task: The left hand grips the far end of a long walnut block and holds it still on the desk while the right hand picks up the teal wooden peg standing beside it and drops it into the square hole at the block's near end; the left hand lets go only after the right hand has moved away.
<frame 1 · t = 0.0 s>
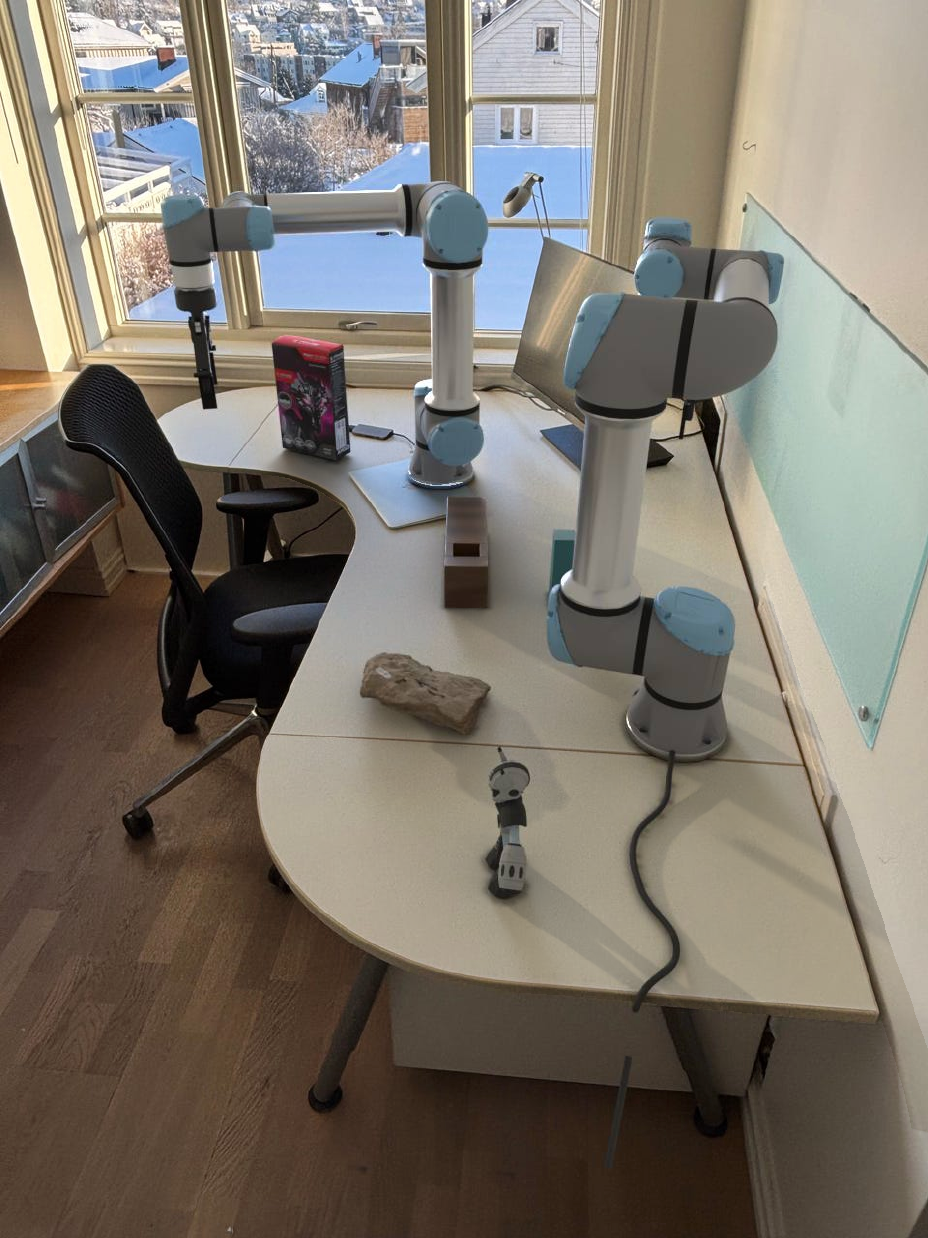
left hand: (210, 396, 184), 28 cm above the table, fingers open, 13 cm apart
right hand: (643, 432, 170), 28 cm above the table, fingers open, 13 cm apart
hole block: (466, 569, 183), on the table
stone: (420, 704, 148), on the table
graphics card box: (316, 451, 230), on the table
robot: (504, 874, 119), on the table
peg: (559, 600, 174), on the table
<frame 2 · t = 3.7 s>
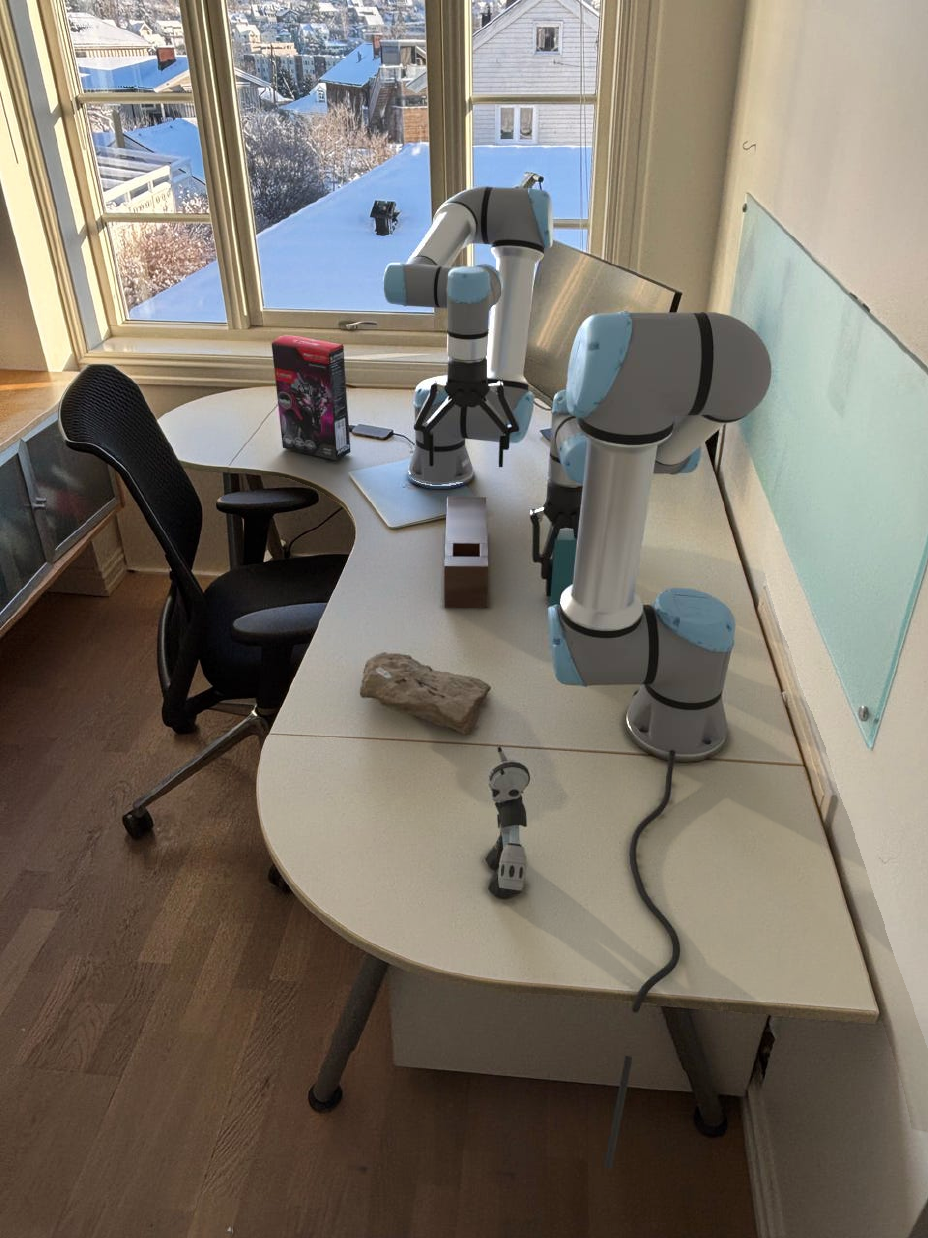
left hand: (466, 464, 182), 18 cm above the table, fingers open, 13 cm apart
right hand: (560, 592, 173), 2 cm above the table, fingers closed on peg, 4 cm apart
peg: (559, 600, 174), on the table, touching right hand
everything else where it was.
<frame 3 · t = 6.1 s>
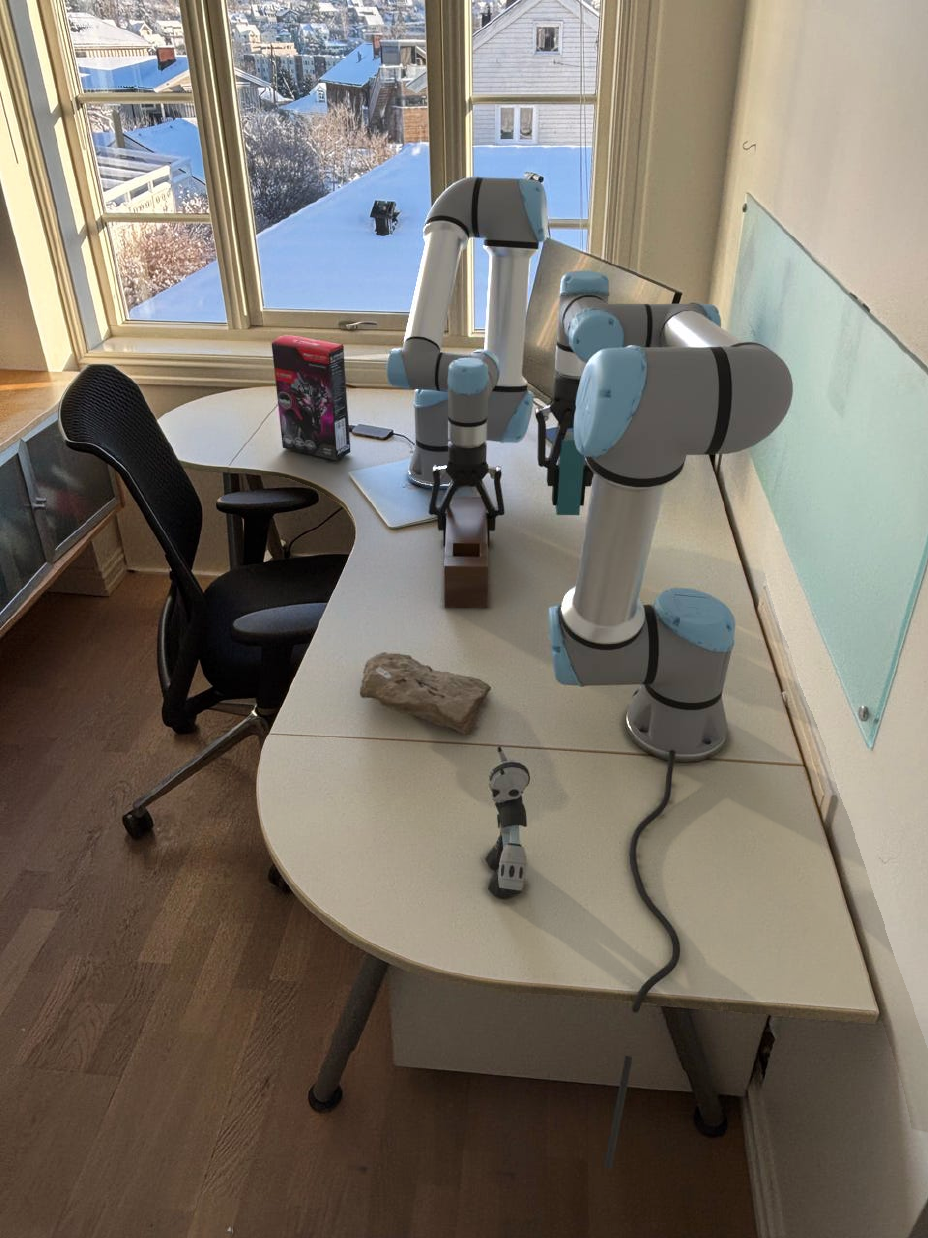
left hand: (466, 543, 191), 0 cm above the table, fingers closed on hole block, 8 cm apart
right hand: (567, 501, 163), 21 cm above the table, fingers closed on peg, 4 cm apart
hole block: (466, 569, 183), on the table, touching left hand
peg: (566, 510, 164), point 19 cm above the table, touching right hand
everything else where it was.
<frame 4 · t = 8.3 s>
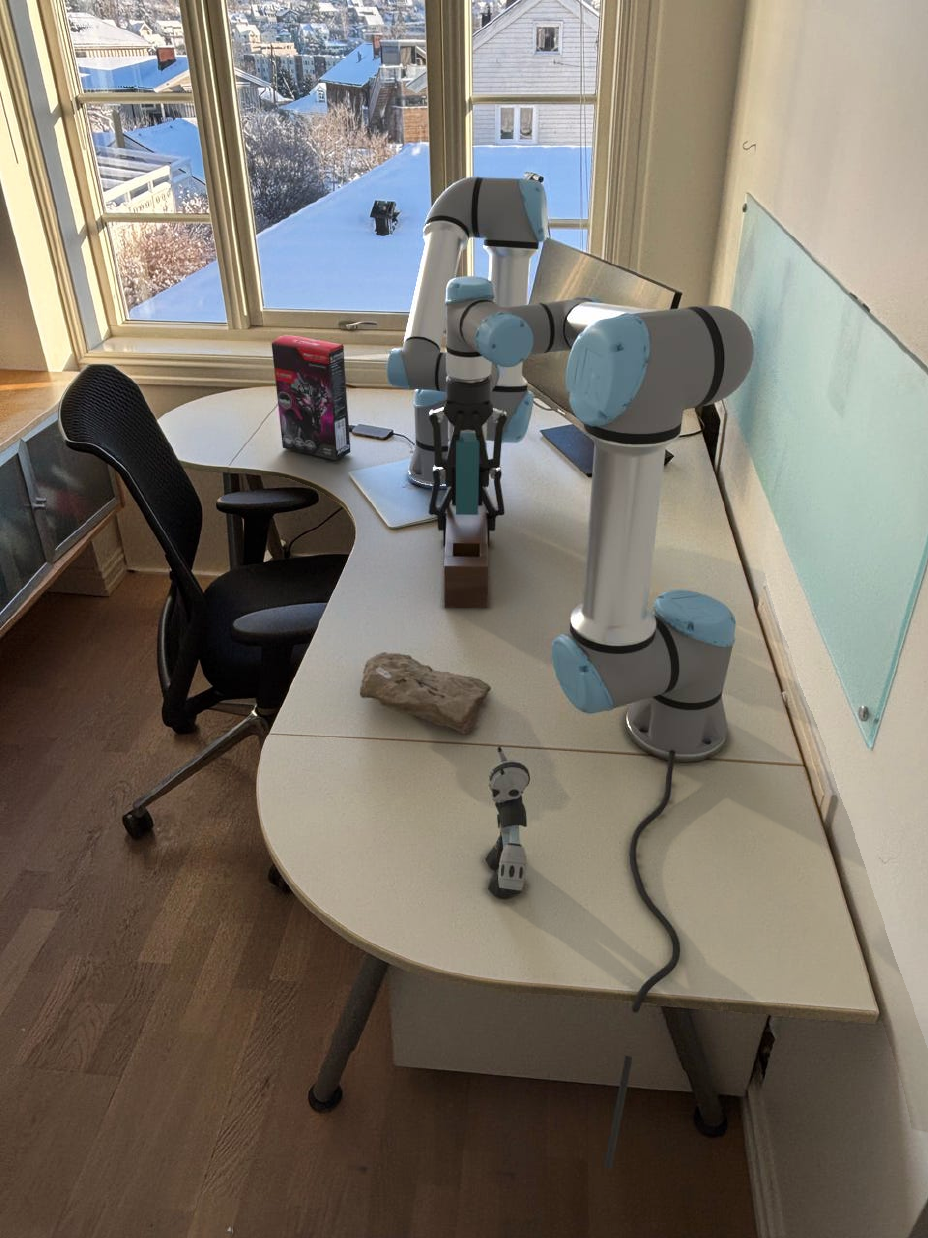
left hand: (466, 543, 191), 0 cm above the table, fingers closed on hole block, 8 cm apart
right hand: (466, 501, 166), 19 cm above the table, fingers closed on peg, 4 cm apart
hole block: (466, 569, 183), on the table, touching left hand
peg: (466, 509, 167), point 17 cm above the table, touching right hand
everything else where it was.
when the right hand's fingers open (11 cm above the table, at t = 10.2 s): peg drops 9 cm, resting in hole block.
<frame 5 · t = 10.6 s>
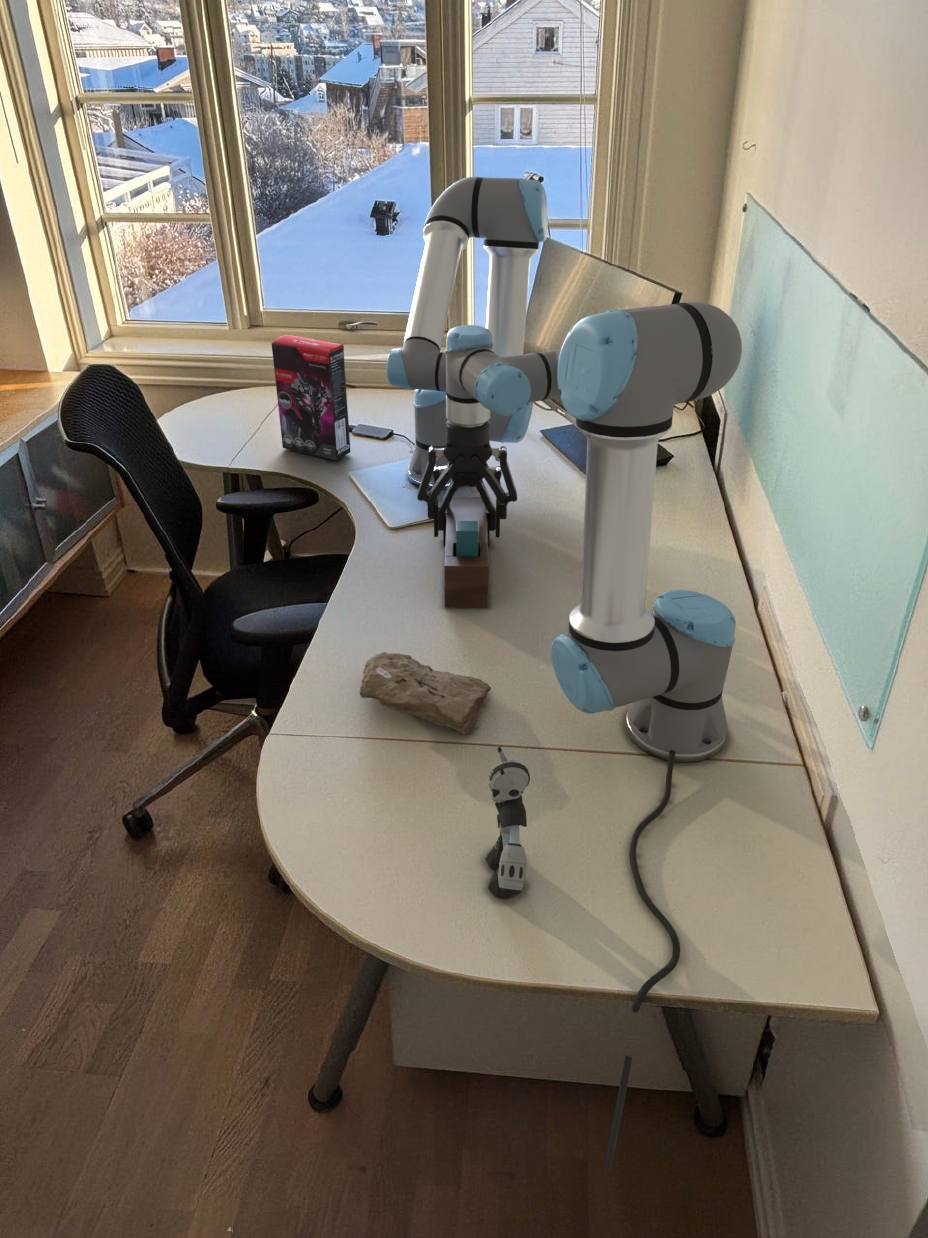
left hand: (466, 543, 191), 0 cm above the table, fingers closed on hole block, 8 cm apart
right hand: (466, 533, 170), 12 cm above the table, fingers open, 10 cm apart
hole block: (466, 569, 183), on the table, touching left hand
peg: (467, 590, 177), resting in hole block
everything else where it was.
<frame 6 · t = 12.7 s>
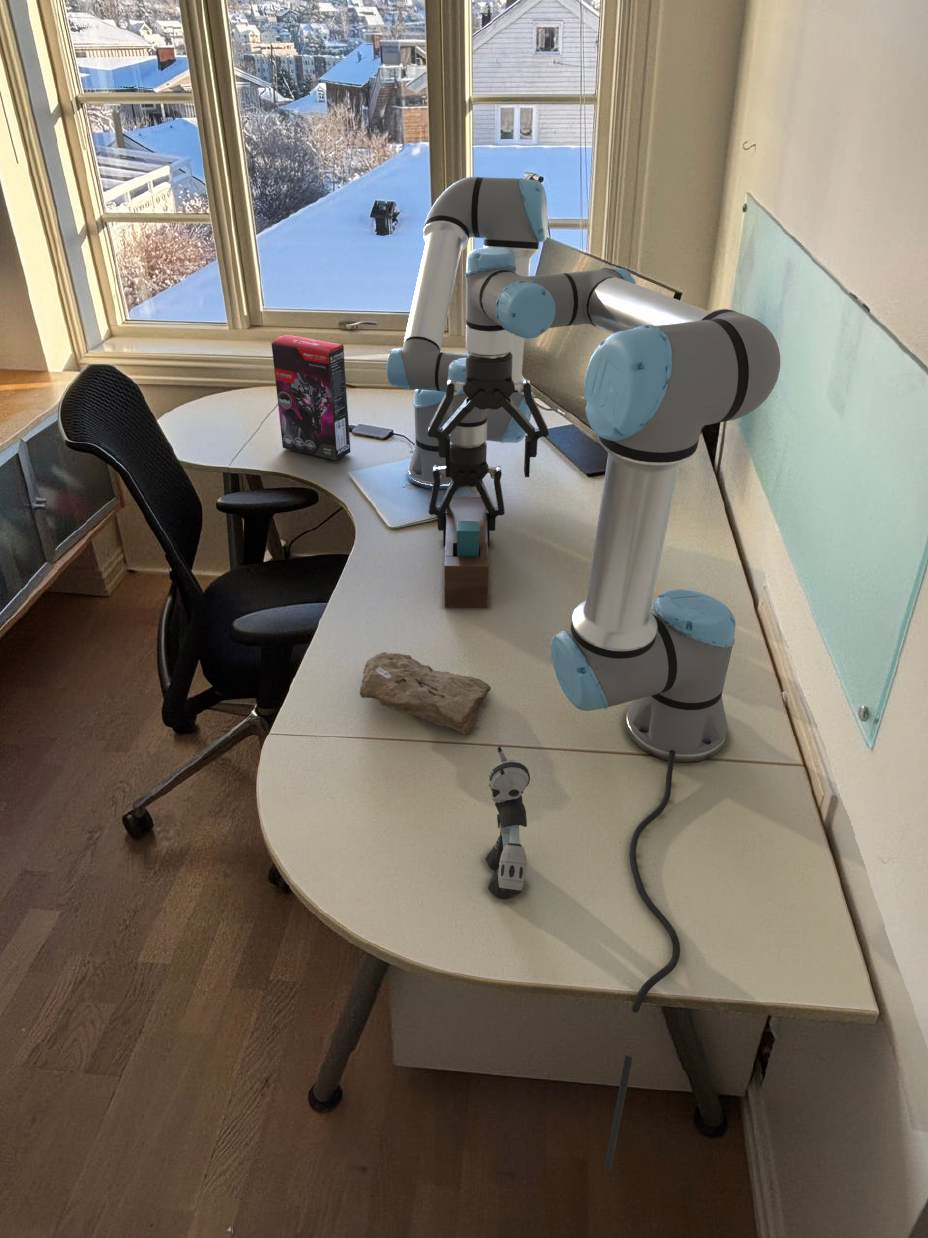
left hand: (466, 543, 191), 0 cm above the table, fingers closed on hole block, 8 cm apart
right hand: (487, 474, 159), 26 cm above the table, fingers open, 13 cm apart
hole block: (466, 569, 183), on the table, touching left hand
everything else where it was.
when the left hand's fingers open (0 cm above the table, at t = 14.3 s): hole block stays where it is, on the table.
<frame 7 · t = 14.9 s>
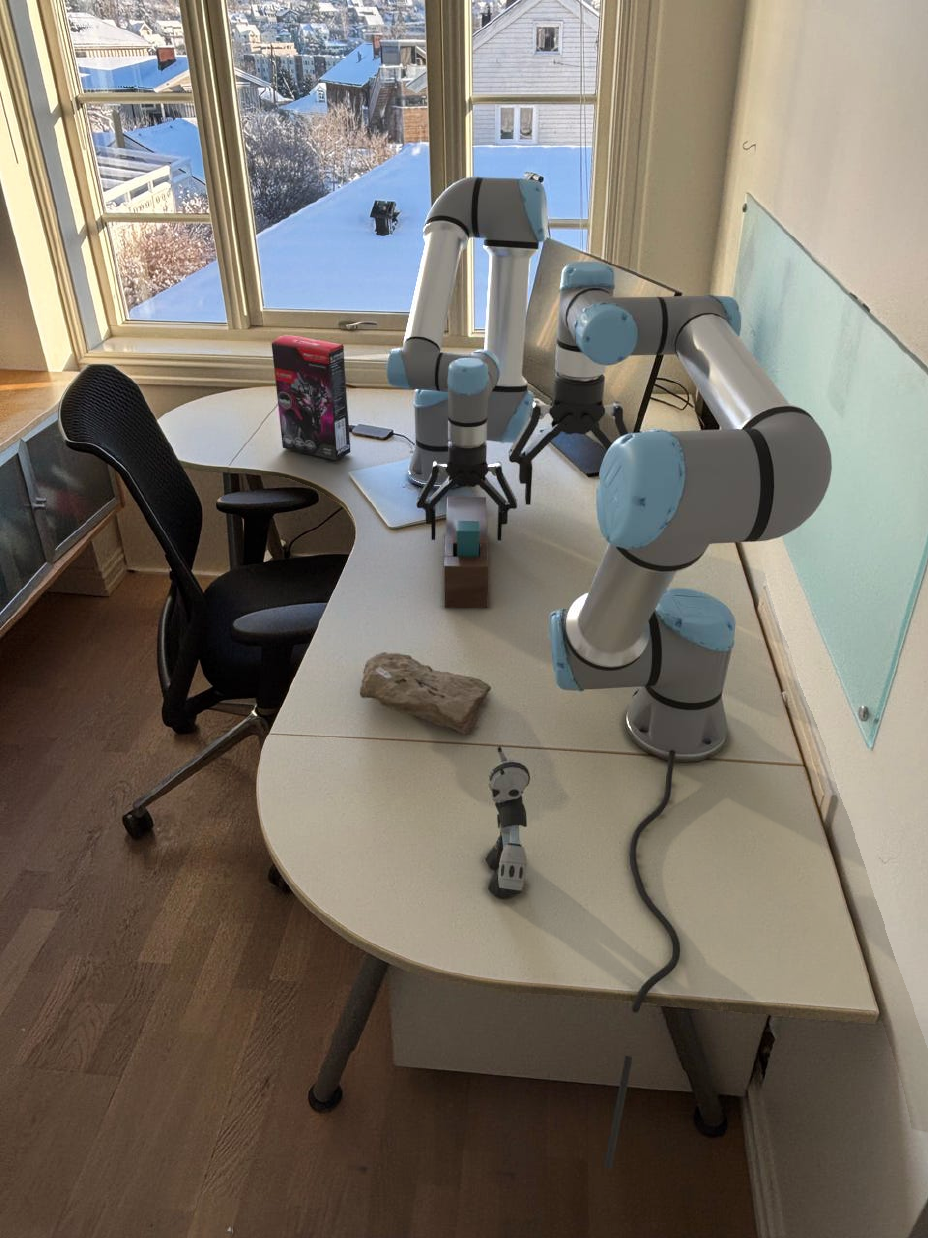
left hand: (466, 537, 191), 2 cm above the table, fingers open, 13 cm apart
right hand: (569, 501, 149), 27 cm above the table, fingers open, 13 cm apart
hole block: (466, 569, 183), on the table
everything else where it was.
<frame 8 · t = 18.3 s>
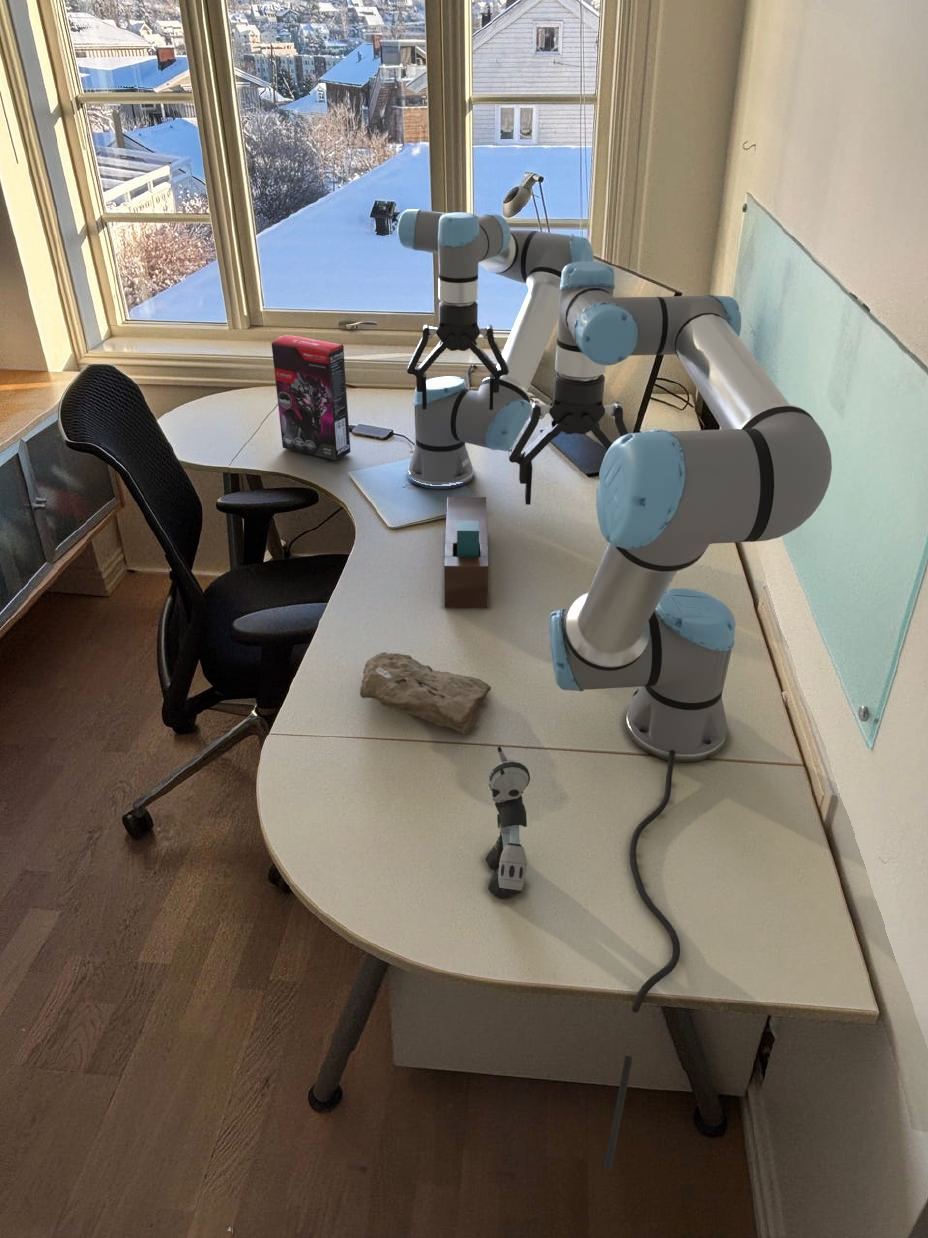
left hand: (457, 407, 189), 25 cm above the table, fingers open, 13 cm apart
right hand: (569, 501, 149), 27 cm above the table, fingers open, 13 cm apart
nothing on the table moved.
at the end: peg 0.3 cm from the target spot on the hole block, point 0.0 cm above the hole block's base; hole block moved 0.0 cm from its start; the left hand is holding nothing; the right hand is holding nothing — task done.
